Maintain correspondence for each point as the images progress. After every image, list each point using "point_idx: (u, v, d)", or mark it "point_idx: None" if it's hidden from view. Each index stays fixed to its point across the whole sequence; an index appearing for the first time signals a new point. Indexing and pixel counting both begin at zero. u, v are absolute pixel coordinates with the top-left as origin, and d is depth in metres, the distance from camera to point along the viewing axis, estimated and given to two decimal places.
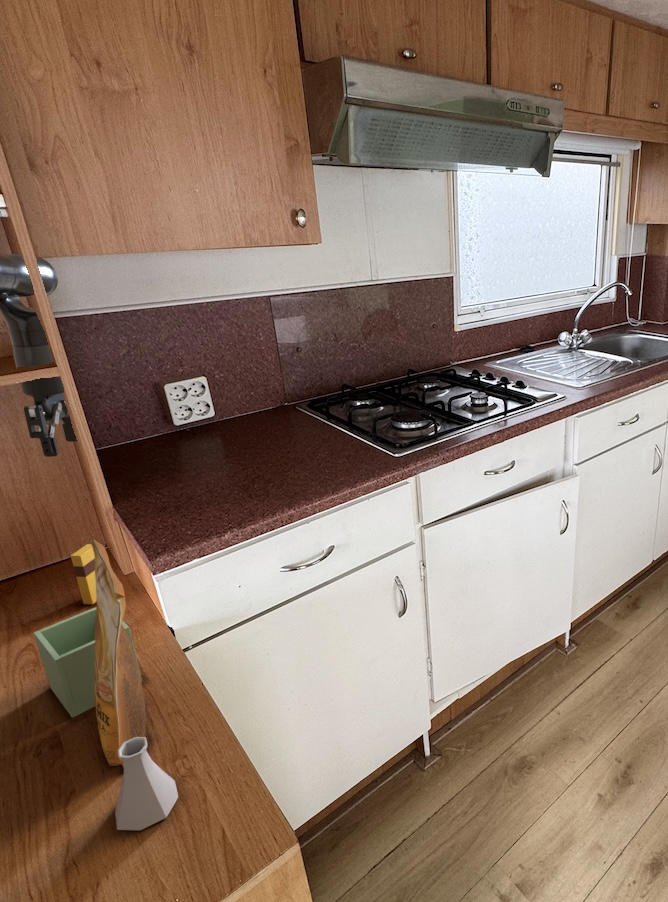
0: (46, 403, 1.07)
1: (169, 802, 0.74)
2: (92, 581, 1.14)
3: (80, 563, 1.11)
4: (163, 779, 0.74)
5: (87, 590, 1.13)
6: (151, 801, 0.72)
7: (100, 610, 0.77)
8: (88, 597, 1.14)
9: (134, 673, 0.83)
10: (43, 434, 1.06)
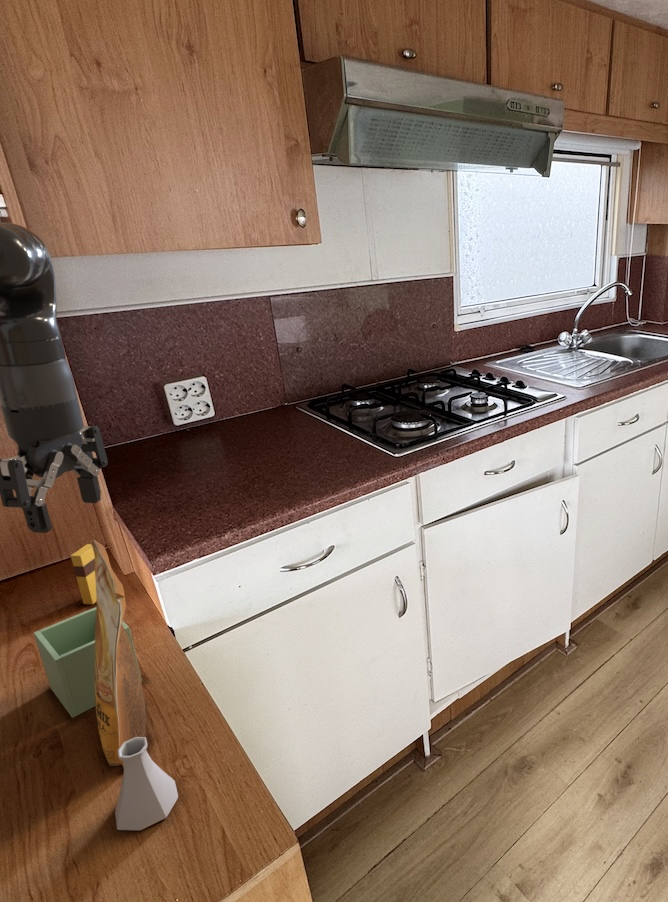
0: (34, 453, 0.69)
1: (169, 802, 0.74)
2: (92, 581, 1.14)
3: (80, 563, 1.11)
4: (163, 779, 0.74)
5: (87, 590, 1.13)
6: (151, 801, 0.72)
7: (100, 610, 0.77)
8: (88, 597, 1.14)
9: (134, 673, 0.83)
10: (20, 503, 0.67)
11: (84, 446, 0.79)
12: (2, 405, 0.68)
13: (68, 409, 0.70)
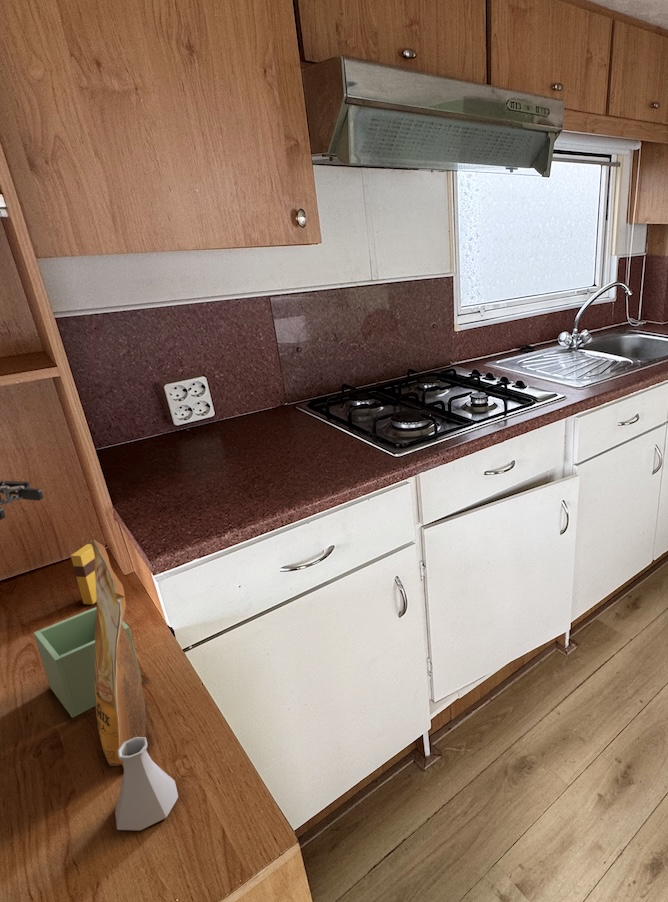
0: None
1: (169, 802, 0.74)
2: (92, 581, 1.14)
3: (80, 563, 1.11)
4: (163, 779, 0.74)
5: (87, 590, 1.13)
6: (151, 801, 0.72)
7: (100, 610, 0.77)
8: (88, 597, 1.14)
9: (134, 673, 0.83)
10: None
11: (11, 491, 1.16)
12: None
13: None
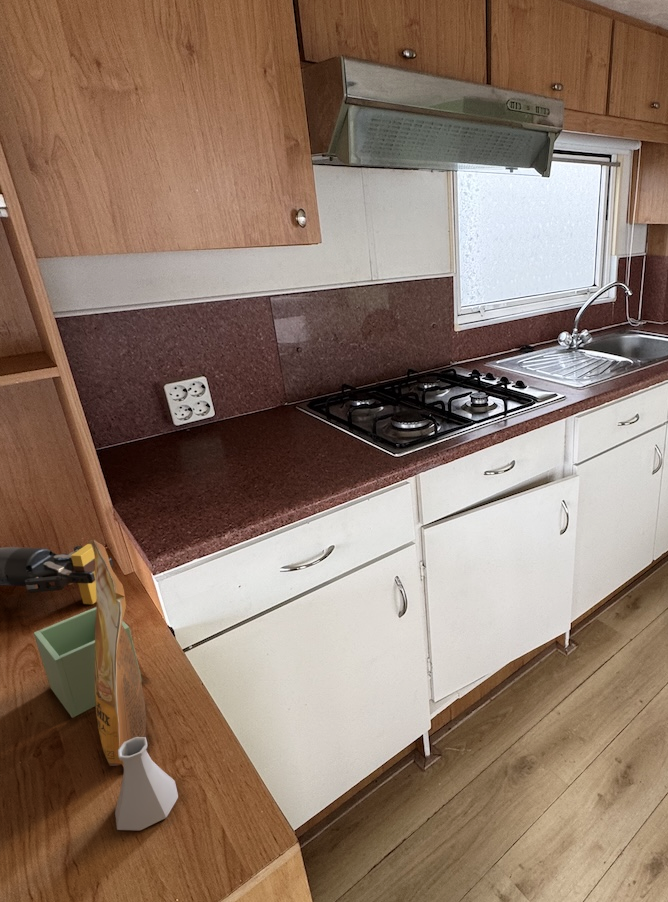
0: (32, 574, 1.11)
1: (169, 802, 0.74)
2: None
3: (80, 563, 1.11)
4: (163, 779, 0.74)
5: (87, 590, 1.13)
6: (151, 801, 0.72)
7: (100, 610, 0.77)
8: (88, 597, 1.14)
9: (134, 673, 0.83)
10: (55, 580, 1.09)
11: None
12: (10, 583, 1.13)
13: (19, 551, 1.13)
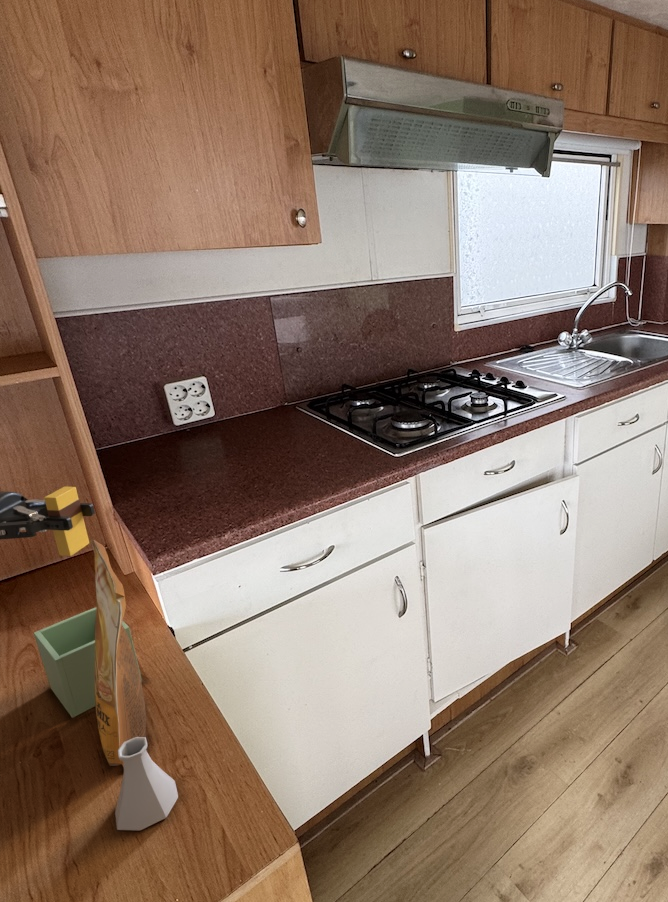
0: None
1: (169, 802, 0.74)
2: (70, 529, 0.98)
3: (55, 506, 0.96)
4: (163, 779, 0.74)
5: (64, 539, 0.98)
6: (151, 801, 0.72)
7: (100, 610, 0.77)
8: (65, 547, 0.98)
9: (134, 673, 0.83)
10: (25, 525, 0.93)
11: None
12: None
13: None
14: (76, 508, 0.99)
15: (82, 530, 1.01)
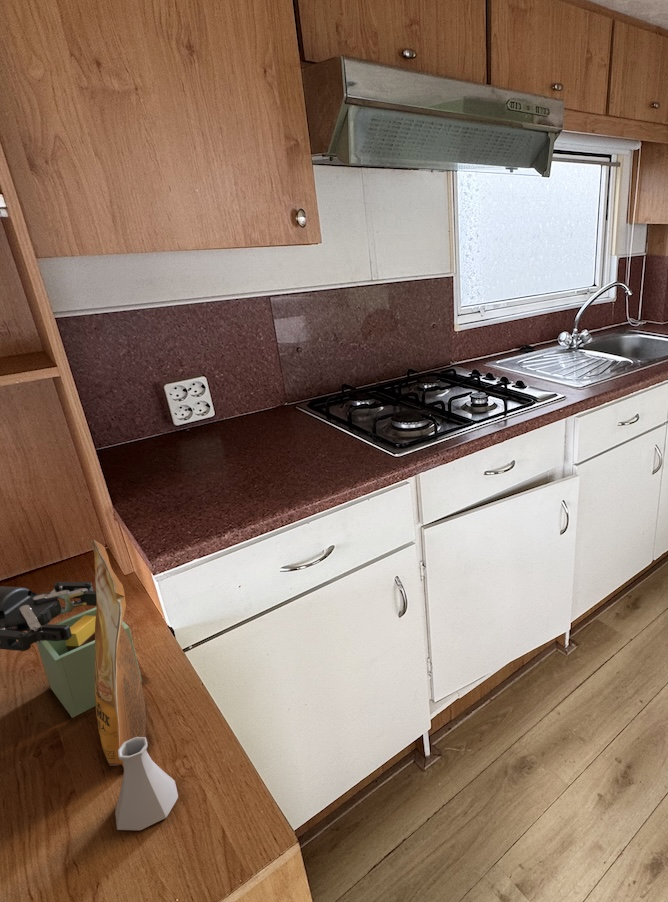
0: (4, 621, 0.86)
1: (169, 802, 0.74)
2: None
3: (75, 642, 0.89)
4: (163, 779, 0.74)
5: None
6: (152, 801, 0.72)
7: (100, 610, 0.77)
8: None
9: (134, 673, 0.83)
10: (17, 638, 0.83)
11: None
12: None
13: None
14: None
15: None
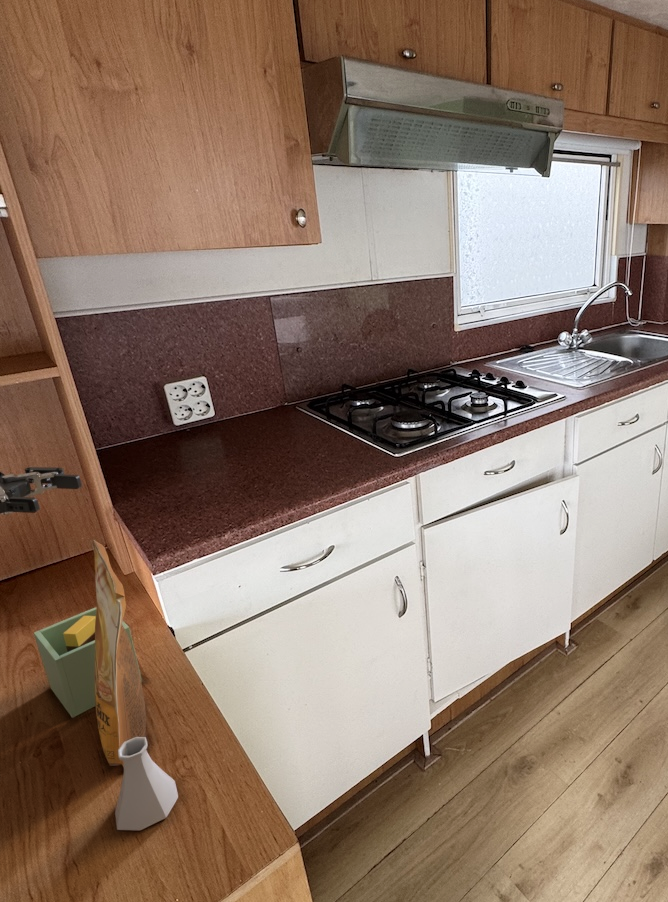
0: None
1: (169, 802, 0.74)
2: None
3: (75, 643, 0.89)
4: (163, 779, 0.74)
5: None
6: (152, 801, 0.72)
7: (100, 610, 0.77)
8: None
9: (134, 673, 0.83)
10: None
11: (42, 480, 0.95)
12: None
13: None
14: None
15: None
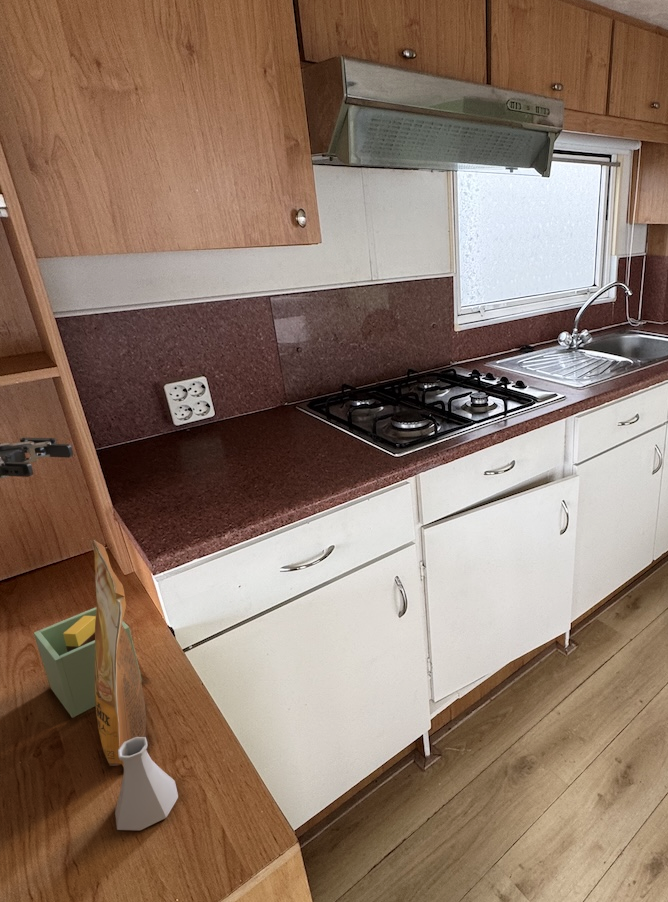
0: None
1: (169, 802, 0.74)
2: None
3: (75, 643, 0.89)
4: (163, 779, 0.74)
5: None
6: (152, 801, 0.72)
7: (100, 610, 0.77)
8: None
9: (134, 673, 0.83)
10: None
11: (36, 449, 1.02)
12: None
13: None
14: None
15: None
